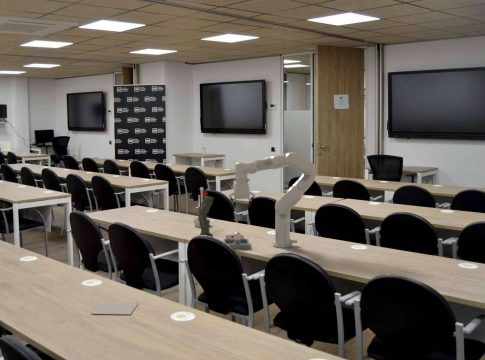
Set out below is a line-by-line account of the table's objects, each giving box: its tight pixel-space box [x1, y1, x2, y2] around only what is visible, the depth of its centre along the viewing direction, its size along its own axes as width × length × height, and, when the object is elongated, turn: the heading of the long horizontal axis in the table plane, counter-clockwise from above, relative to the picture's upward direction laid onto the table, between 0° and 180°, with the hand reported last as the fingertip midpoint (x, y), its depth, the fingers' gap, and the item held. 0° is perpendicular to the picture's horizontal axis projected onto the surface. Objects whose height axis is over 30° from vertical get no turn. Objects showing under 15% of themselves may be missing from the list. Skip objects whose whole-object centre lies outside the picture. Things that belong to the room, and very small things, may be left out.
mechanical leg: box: [197, 195, 214, 237], centre depth 363 cm, size 14×7×30 cm, turn 143°
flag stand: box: [193, 186, 211, 228], centre depth 402 cm, size 13×13×30 cm
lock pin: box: [232, 231, 241, 244], centre depth 338 cm, size 4×4×8 cm
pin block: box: [225, 234, 246, 239], centre depth 355 cm, size 12×12×2 cm
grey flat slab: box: [91, 301, 139, 315], centre depth 222 cm, size 23×25×1 cm
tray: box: [223, 238, 251, 250], centre depth 338 cm, size 16×16×3 cm
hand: (242, 207), depth 340 cm, fingers open, 9 cm apart
